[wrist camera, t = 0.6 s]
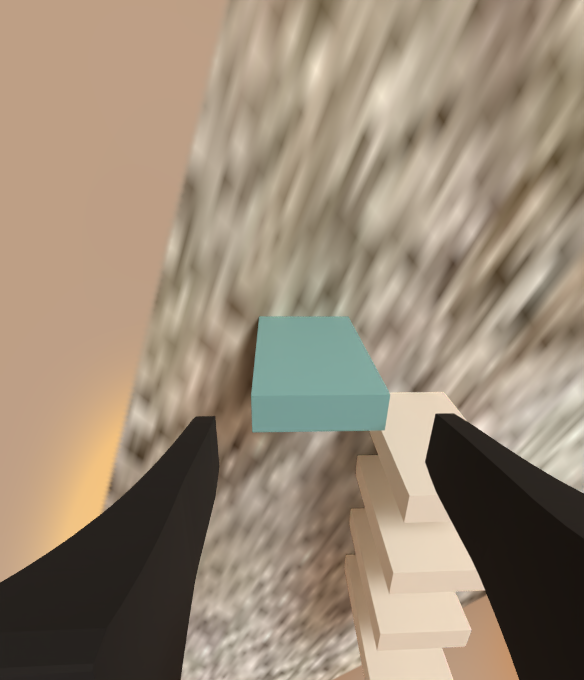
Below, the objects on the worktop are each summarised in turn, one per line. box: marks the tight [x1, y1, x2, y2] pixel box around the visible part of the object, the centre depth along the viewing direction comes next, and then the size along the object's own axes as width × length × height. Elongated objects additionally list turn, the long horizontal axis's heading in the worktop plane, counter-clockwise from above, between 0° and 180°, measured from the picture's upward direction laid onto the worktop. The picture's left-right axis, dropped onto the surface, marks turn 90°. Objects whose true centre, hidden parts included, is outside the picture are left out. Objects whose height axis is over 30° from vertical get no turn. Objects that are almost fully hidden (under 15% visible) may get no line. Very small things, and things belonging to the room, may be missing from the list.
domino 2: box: [355, 455, 485, 594], centre depth 21 cm, size 2×5×8 cm, turn 90°
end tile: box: [251, 317, 390, 432], centre depth 17 cm, size 2×5×8 cm, turn 89°
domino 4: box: [344, 554, 453, 680], centre depth 25 cm, size 2×5×8 cm, turn 89°
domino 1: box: [369, 392, 466, 523], centre depth 19 cm, size 2×5×8 cm, turn 89°
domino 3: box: [349, 508, 472, 651], centre depth 23 cm, size 2×5×8 cm, turn 89°
